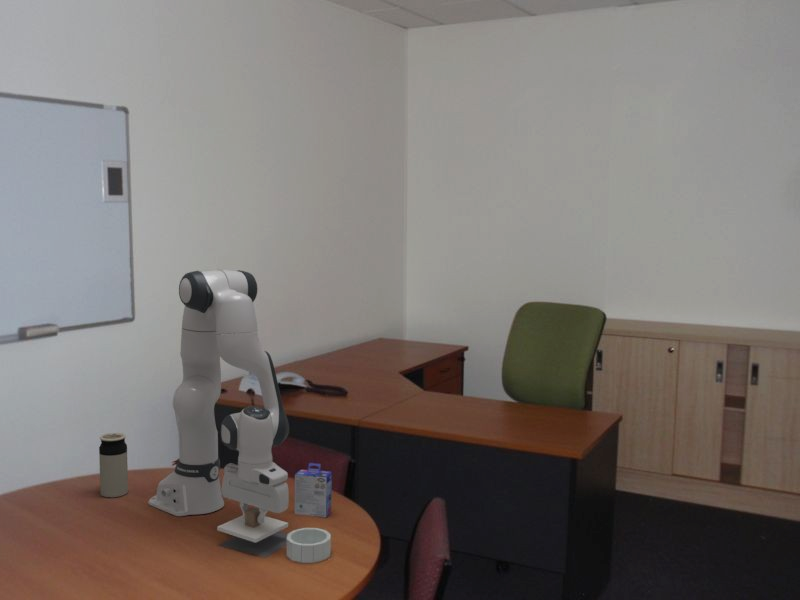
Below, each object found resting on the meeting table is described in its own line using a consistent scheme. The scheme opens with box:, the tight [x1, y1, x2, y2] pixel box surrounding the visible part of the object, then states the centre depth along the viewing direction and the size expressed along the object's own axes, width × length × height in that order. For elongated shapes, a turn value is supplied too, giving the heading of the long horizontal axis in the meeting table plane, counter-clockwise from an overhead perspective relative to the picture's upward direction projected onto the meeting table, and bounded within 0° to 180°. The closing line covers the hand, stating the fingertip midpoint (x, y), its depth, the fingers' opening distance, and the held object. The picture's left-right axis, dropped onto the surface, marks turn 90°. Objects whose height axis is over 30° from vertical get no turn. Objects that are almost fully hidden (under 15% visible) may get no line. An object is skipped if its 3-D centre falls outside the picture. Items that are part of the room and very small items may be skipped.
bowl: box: [286, 527, 332, 564], centre depth 211 cm, size 11×11×5 cm
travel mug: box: [98, 432, 129, 499], centre depth 251 cm, size 8×8×18 cm
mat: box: [218, 531, 289, 558], centre depth 219 cm, size 15×15×1 cm
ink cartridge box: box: [293, 462, 333, 519], centre depth 239 cm, size 10×6×14 cm, turn 79°
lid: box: [216, 506, 289, 543], centre depth 217 cm, size 13×13×5 cm
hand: (253, 520), depth 217 cm, fingers closed on lid, 3 cm apart
